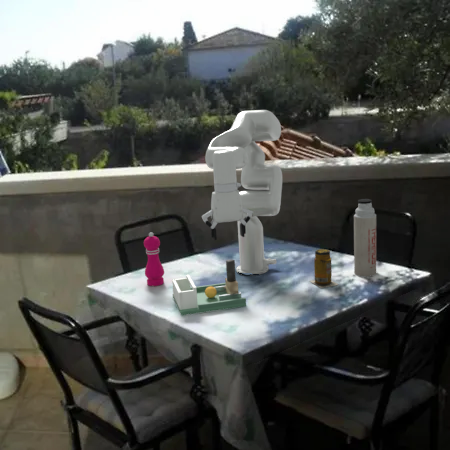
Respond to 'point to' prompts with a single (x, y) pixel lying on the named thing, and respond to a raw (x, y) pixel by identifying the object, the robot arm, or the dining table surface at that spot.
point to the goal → (185, 293)
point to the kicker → (231, 277)
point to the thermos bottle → (365, 239)
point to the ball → (210, 292)
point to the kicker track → (227, 296)
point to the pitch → (211, 301)
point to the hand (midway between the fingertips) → (228, 237)
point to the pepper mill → (153, 261)
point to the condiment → (323, 269)
